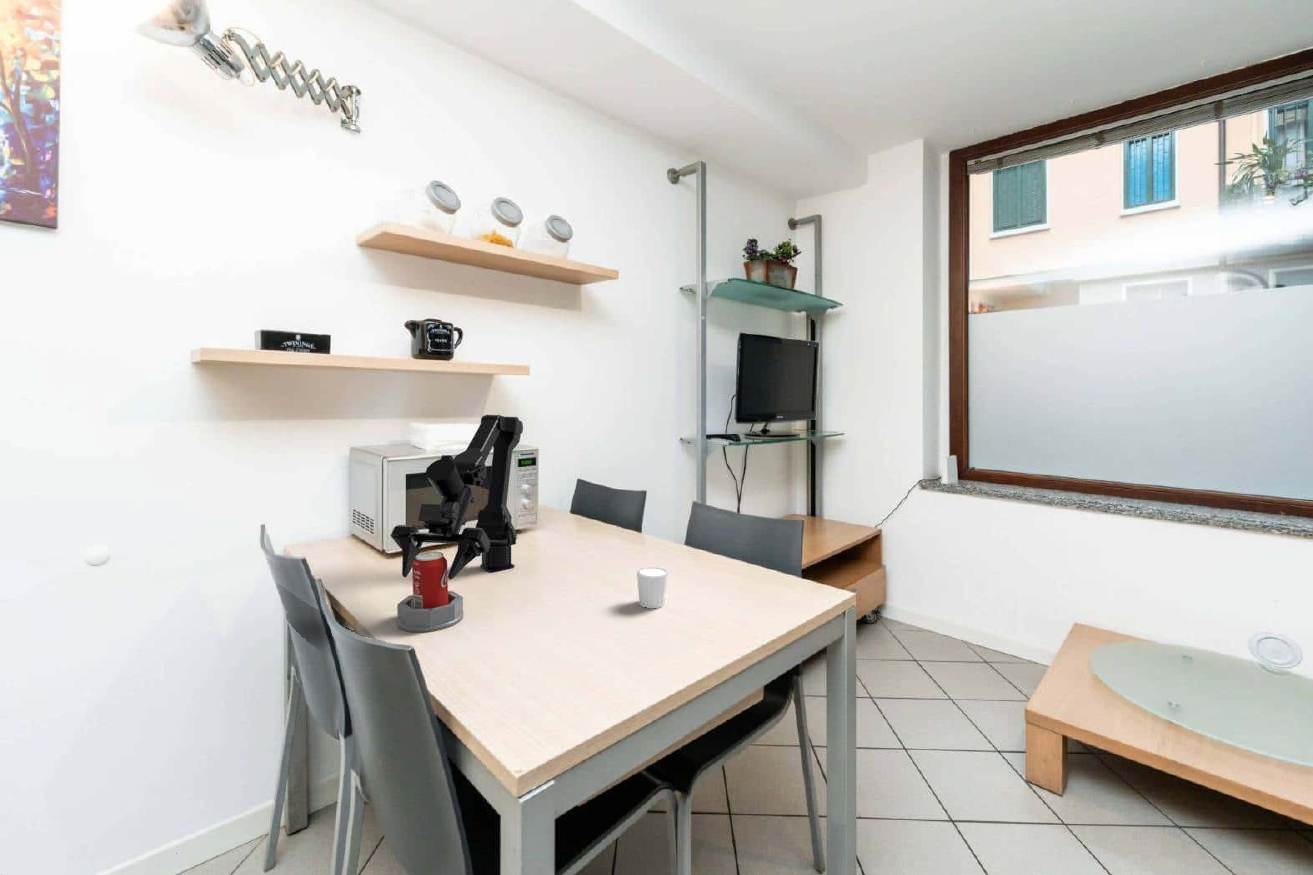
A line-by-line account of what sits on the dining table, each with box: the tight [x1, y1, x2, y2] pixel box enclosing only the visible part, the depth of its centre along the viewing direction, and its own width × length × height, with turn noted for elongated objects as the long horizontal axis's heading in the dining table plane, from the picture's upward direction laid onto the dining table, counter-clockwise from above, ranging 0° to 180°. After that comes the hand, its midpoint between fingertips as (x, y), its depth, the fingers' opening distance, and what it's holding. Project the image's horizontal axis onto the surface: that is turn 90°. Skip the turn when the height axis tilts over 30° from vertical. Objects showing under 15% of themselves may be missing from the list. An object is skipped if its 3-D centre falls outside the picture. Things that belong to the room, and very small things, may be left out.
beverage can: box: [411, 551, 449, 609], centre depth 108 cm, size 6×6×12 cm
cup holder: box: [396, 590, 464, 633], centre depth 108 cm, size 12×12×4 cm
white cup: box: [636, 567, 670, 609], centre depth 118 cm, size 7×7×7 cm
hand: (426, 577), depth 106 cm, fingers open, 9 cm apart
